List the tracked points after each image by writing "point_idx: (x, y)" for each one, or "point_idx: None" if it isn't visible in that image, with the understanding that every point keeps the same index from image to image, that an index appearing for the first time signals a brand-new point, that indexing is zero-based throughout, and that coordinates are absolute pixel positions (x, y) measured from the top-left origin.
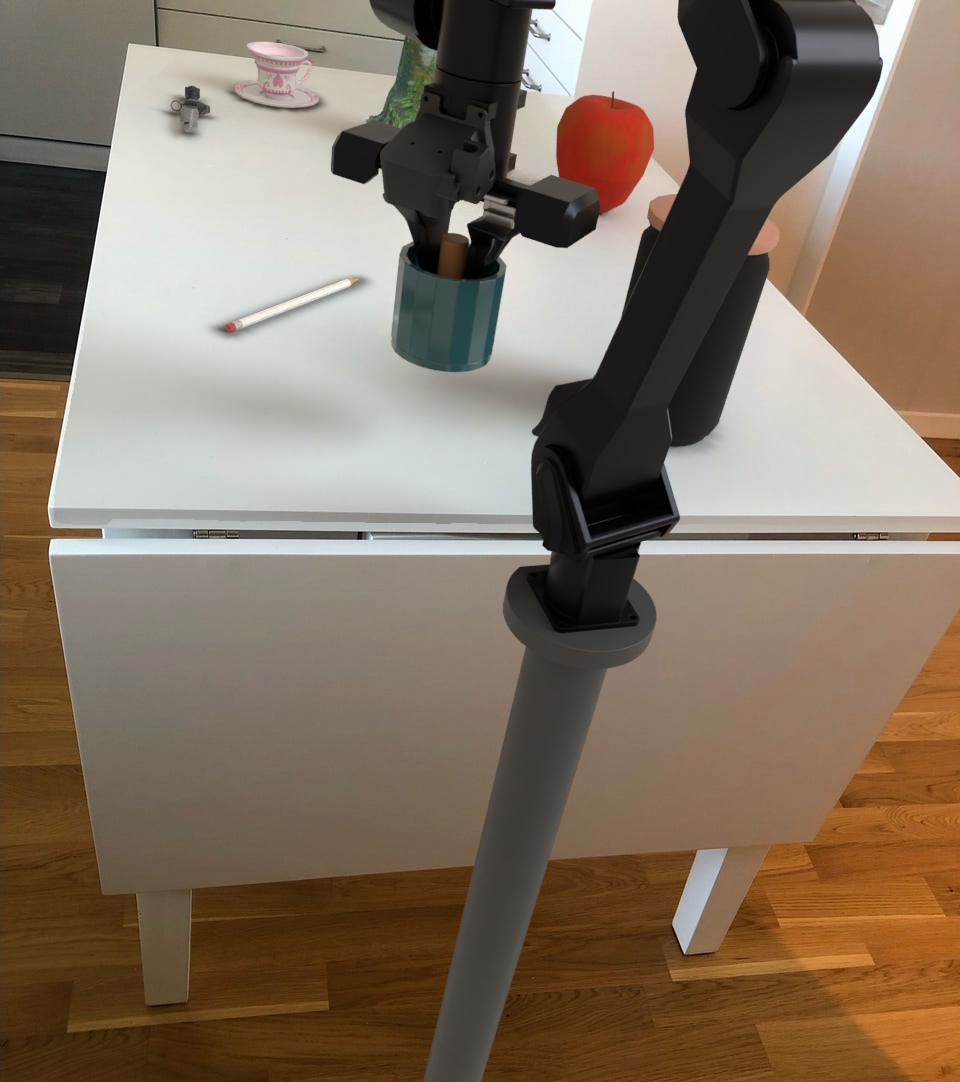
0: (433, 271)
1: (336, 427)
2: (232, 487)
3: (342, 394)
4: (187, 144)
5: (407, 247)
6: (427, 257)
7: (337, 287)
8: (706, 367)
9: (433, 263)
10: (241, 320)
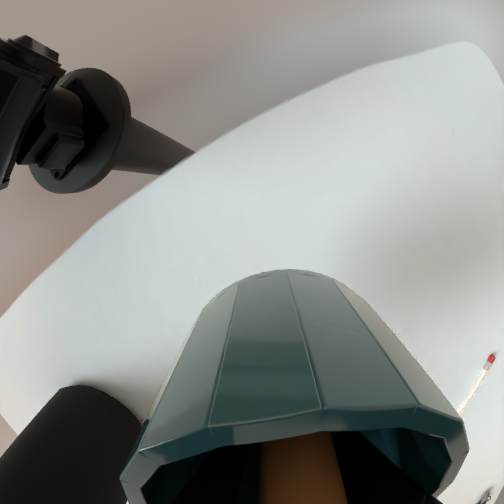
0: (352, 474)
1: (382, 255)
2: (415, 88)
3: (394, 326)
4: (487, 487)
5: (441, 487)
6: (386, 493)
7: None
8: (24, 429)
9: (360, 491)
10: (486, 371)
